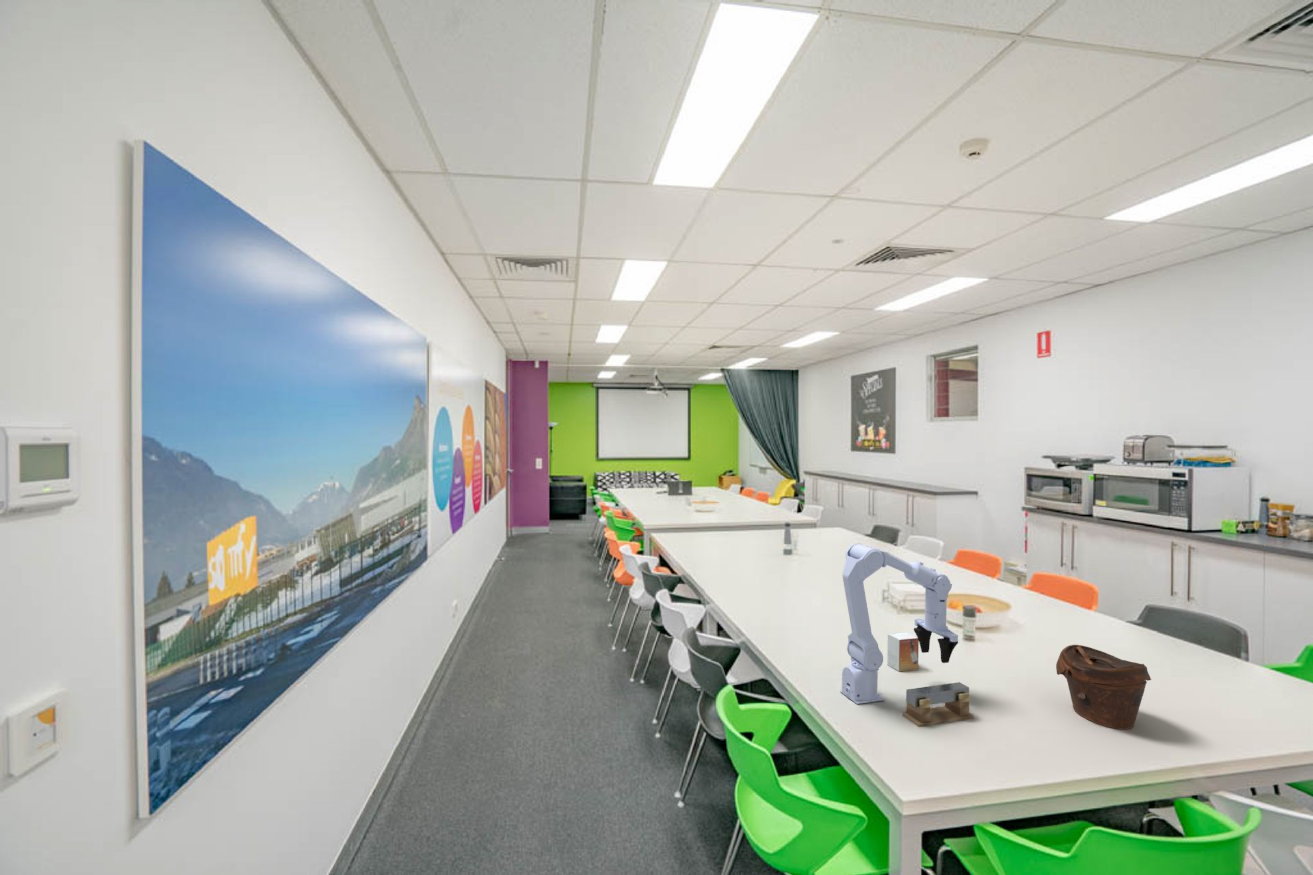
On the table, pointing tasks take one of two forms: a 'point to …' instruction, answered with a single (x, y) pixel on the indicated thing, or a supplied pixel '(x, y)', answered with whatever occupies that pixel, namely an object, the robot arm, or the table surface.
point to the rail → (936, 693)
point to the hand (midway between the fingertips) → (934, 657)
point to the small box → (903, 651)
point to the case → (1103, 685)
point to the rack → (938, 712)
